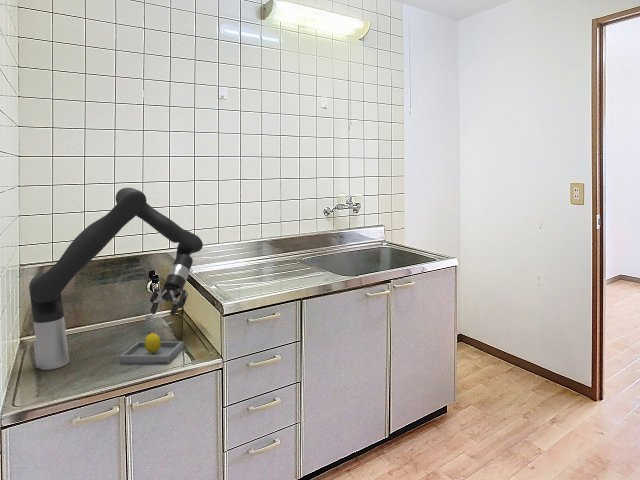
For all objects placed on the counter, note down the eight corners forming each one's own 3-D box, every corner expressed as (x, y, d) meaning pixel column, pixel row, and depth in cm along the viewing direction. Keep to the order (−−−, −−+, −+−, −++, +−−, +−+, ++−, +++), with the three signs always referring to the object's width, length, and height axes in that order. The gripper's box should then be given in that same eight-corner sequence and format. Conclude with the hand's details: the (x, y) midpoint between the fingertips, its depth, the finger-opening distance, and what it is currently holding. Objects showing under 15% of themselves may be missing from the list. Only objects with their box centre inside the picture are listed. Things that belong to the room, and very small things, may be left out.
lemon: (155, 357, 155) (154, 336, 153) (142, 356, 156) (140, 335, 155) (164, 350, 160) (162, 330, 159) (151, 350, 161) (149, 329, 160)
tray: (119, 364, 152) (119, 356, 151) (139, 348, 166) (138, 341, 165) (168, 364, 150) (167, 356, 150) (183, 348, 164) (183, 341, 164)
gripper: (157, 272, 171) (141, 308, 162) (188, 273, 167) (173, 310, 158) (166, 282, 177) (151, 317, 167) (196, 283, 173) (182, 319, 164)
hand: (162, 314), depth 163 cm, fingers open, 8 cm apart
